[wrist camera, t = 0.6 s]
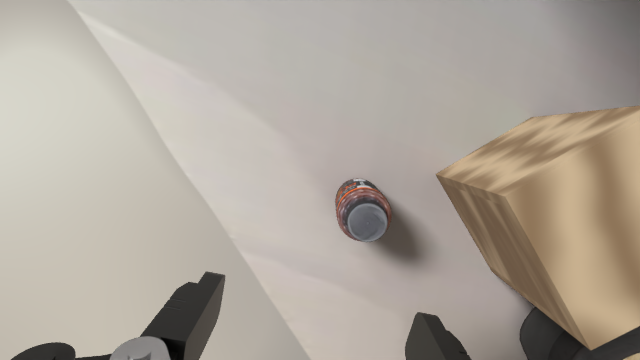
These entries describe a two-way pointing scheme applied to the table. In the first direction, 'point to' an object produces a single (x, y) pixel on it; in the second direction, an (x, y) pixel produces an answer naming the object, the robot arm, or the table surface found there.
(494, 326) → the table surface
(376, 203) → the supplement bottle
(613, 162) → the shelf riser
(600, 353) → the casserole
